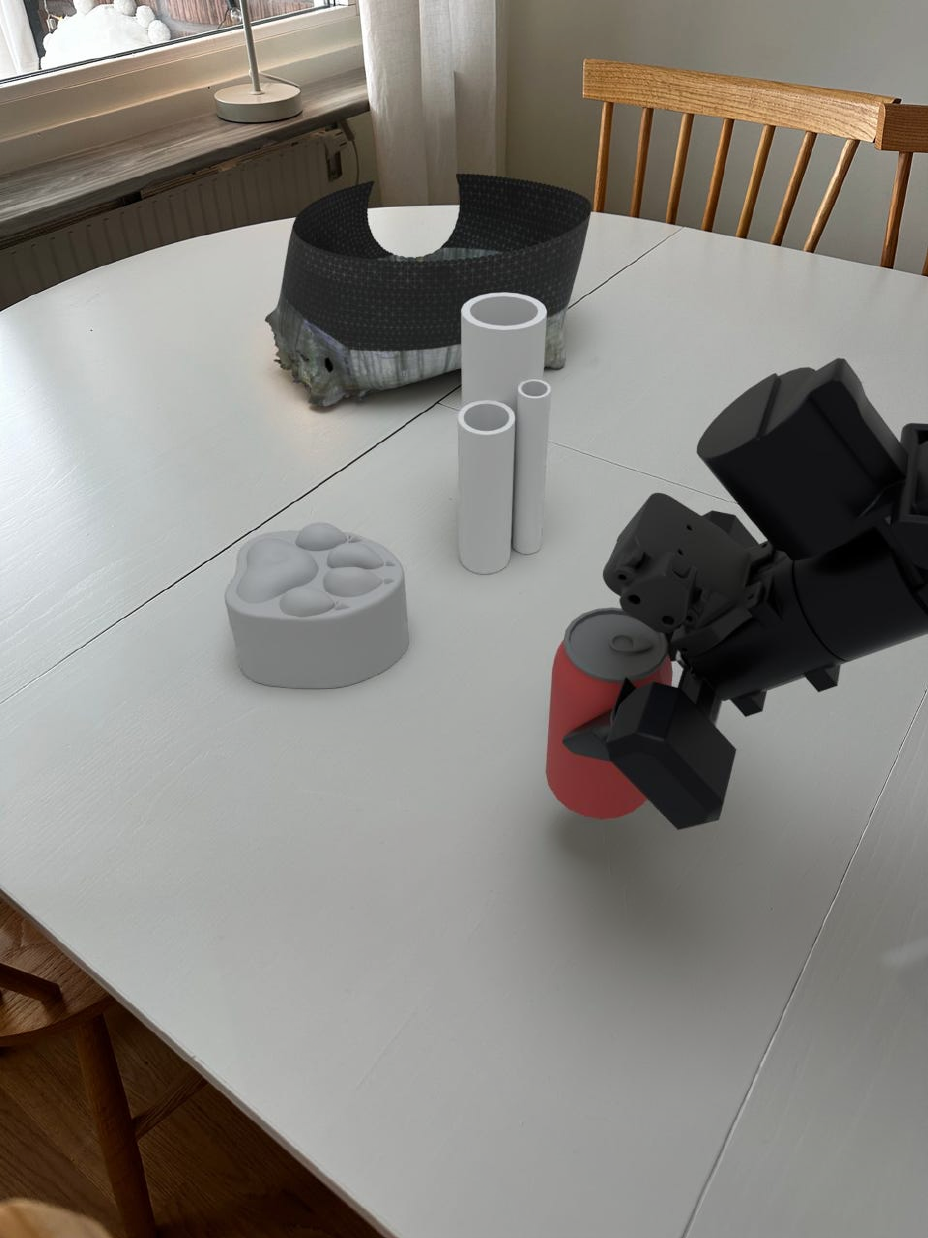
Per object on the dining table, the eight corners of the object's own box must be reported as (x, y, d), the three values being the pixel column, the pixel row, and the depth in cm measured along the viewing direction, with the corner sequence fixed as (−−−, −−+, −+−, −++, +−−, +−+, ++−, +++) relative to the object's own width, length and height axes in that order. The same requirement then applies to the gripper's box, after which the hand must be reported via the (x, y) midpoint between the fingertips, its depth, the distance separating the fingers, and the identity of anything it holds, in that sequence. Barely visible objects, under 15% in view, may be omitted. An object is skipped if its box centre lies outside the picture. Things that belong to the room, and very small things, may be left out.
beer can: (657, 827, 58) (685, 687, 50) (545, 823, 58) (554, 683, 50) (648, 741, 63) (671, 601, 54) (544, 738, 63) (553, 598, 55)
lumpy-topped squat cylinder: (258, 596, 82) (241, 512, 76) (413, 598, 81) (408, 515, 75) (232, 687, 74) (211, 601, 68) (403, 690, 74) (397, 605, 68)
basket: (296, 297, 123) (279, 162, 112) (574, 296, 123) (584, 161, 112) (260, 416, 103) (234, 265, 92) (594, 415, 102) (608, 263, 91)
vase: (463, 495, 92) (461, 291, 78) (540, 497, 92) (551, 292, 78) (458, 573, 84) (455, 360, 70) (542, 575, 83) (556, 362, 70)
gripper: (759, 379, 50) (544, 511, 60) (680, 610, 37) (425, 725, 48) (879, 535, 53) (655, 634, 64) (845, 797, 40) (571, 866, 51)
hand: (584, 702), depth 56 cm, fingers closed on beer can, 6 cm apart
